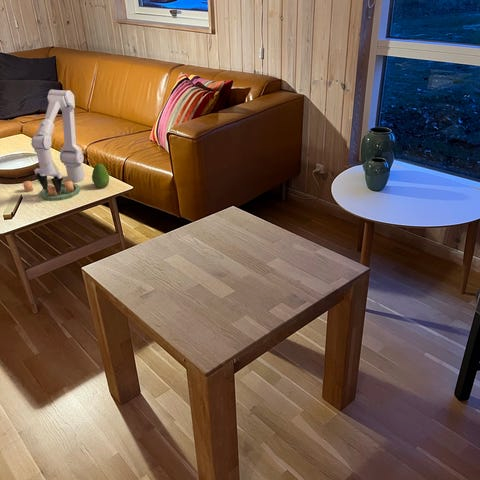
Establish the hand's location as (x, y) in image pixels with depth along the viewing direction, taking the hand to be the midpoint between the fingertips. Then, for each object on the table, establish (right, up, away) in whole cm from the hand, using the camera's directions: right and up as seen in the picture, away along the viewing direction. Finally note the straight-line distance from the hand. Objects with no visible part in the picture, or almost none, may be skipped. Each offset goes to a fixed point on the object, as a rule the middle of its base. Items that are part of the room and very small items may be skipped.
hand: (52, 190), depth 212 cm
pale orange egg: (0, -3, +1) cm, 3 cm away
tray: (+2, -1, +5) cm, 6 cm away
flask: (-13, +13, +30) cm, 35 cm away
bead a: (+6, 0, +5) cm, 8 cm away
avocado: (+19, +2, +12) cm, 23 cm away
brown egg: (-14, 0, +8) cm, 16 cm away
